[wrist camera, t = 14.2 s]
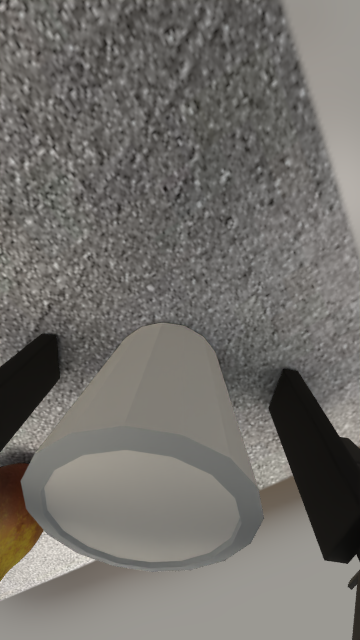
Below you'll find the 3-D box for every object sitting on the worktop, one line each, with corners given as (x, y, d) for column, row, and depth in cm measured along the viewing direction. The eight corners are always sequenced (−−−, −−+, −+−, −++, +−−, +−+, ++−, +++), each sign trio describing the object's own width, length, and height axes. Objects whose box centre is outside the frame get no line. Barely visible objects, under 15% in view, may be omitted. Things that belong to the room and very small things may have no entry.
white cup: (172, 433, 15) (155, 595, 9) (80, 369, 14) (-23, 512, 7) (258, 369, 13) (319, 526, 6) (159, 282, 11) (111, 378, 5)
